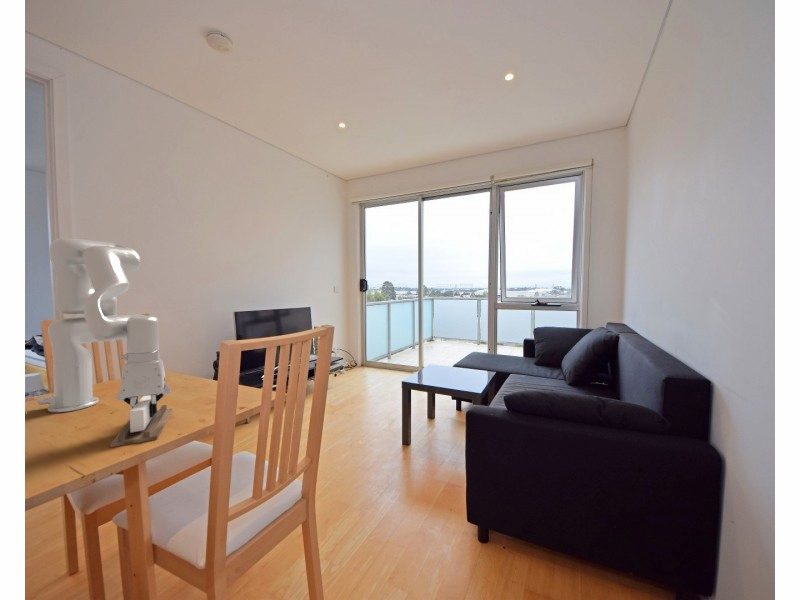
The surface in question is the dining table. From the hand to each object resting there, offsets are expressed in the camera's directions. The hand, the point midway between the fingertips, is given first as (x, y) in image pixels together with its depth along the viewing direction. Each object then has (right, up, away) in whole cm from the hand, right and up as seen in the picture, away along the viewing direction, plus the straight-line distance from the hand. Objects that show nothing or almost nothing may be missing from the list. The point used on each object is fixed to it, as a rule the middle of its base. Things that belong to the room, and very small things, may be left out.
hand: (144, 416), depth 95 cm
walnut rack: (0, -3, 0) cm, 3 cm away
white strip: (0, -1, 0) cm, 1 cm away
